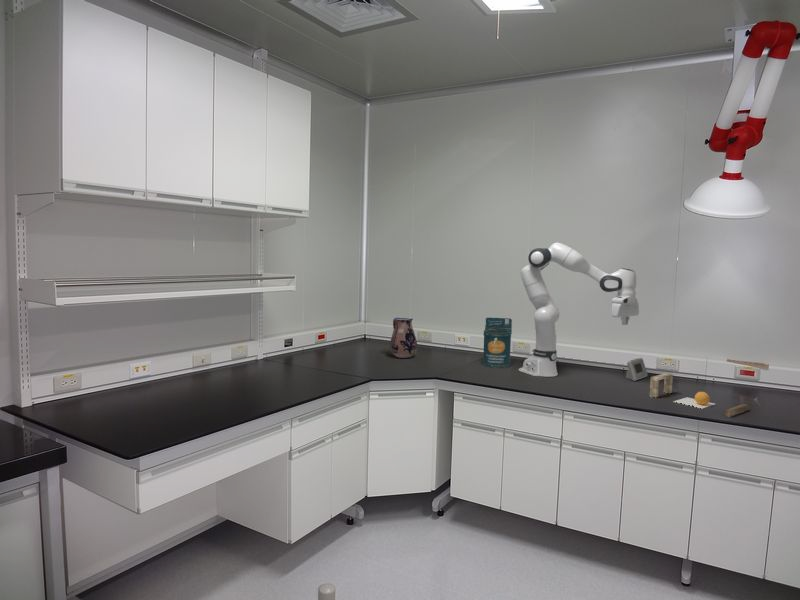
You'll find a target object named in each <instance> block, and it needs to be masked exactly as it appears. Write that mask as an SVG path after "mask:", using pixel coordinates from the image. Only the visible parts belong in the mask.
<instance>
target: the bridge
mask: <svg viewBox="0 0 800 600" xmlns="http://www.w3.org/2000/svg"><path fill="white" fill-rule="evenodd" d="M673 379H674V374H672V373H667V372H666V373H662V374H658V375H653V376H650V382H649V383H650V384H649V397H650V398H653V397H655V398H654V399H657V397H658V398H659V383H660V382H659V381H661V380H664V384H663V393H664V392H665V393H664V394H667V393H669V394H668V395H671V394H670V393H672V394H673V381H674V380H673Z"/></svg>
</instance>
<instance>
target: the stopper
mask: <svg viewBox="0 0 800 600" xmlns="http://www.w3.org/2000/svg"><path fill="white" fill-rule="evenodd" d="M747 411H749V404H746V403H741V404H739V405H737V406H734V407H730V408H728V409H725V410H724V414H723V415H724V417H727V418H731V417H734V416H737V415H739V414H742V413H745V412H747Z"/></svg>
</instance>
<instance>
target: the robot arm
mask: <svg viewBox="0 0 800 600" xmlns="http://www.w3.org/2000/svg"><path fill="white" fill-rule="evenodd" d="M527 259H528V263H529V264H528V265H525V266H524V267H522V269H521V270H520V277H521V280H522V283H523V287H524V289H525V291H526V293H527V297H528V299H529V301H530V302H531V303H532V305H533V307H534V308H535V310H536V311H535V313H534V315H533V320H534V327H535V328H534V329H535V348H534V349H532V350H531V352H532V355H531V356H529V357H528V358H526V359H524V361H523V364H522V367H520V368H518V371H519V372H521V373H524V374H527V375H529V376H532V377H547V378H548V377H557V376H558V370H557V369H558V368H557V353H558V352H557V335H556V334H557V333H556V322H558V320H559V318H560V311H559V308H557V306H556V303H555V302H554V300H553V298H552V296H551V295H550V293H549V291H548V288H547V286H546V284H545V280H544V279H543V276H542V273H541V271H542V270H544V268H546V267H547V266H548V265H550V263H556V264H557V265H559V266H561V267H563V268H565V270H566V269H567V270H569V271H572V272H575V273H580V274H583V275H585V276H587V277H589V278H591V279H593V280H595V281H596V282H597V283H599V287H600V289H601V290H602V291H603V292H605V293H613V292H617V295H615V296H614V297H613V298H612V299H611V303H612V305H611V316H612V318H620V320H621V325H622V326H626V325H628V324H629V320H630V319H631V317H633V316H639V313H640V306H639V301H638V299H637V298H636V294H637V293H636V287H637V273H636V272H635V271H634V270H633V269H631V268H624V267H623V268H620V269H619V270H616V271H614V272H606V271H603V270H602V269H600V268H599V267H596V266H595V265H593V264H592V263H590V262H589V261H588V259H586V258H585V257H584V256H583V255H582V254H581V253H580V252H579V251H577V250H575V249H574V248H573V247H570V246H569V245H566V244H564V243H561V242H554V243H552V244H551V245H550V246H549V247H548V248H540V247H538V248H537V247H536V248H534V249H532V250H530V252H529V254H528V258H527Z"/></svg>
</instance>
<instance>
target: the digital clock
mask: <svg viewBox="0 0 800 600" xmlns="http://www.w3.org/2000/svg"><path fill="white" fill-rule="evenodd" d="M627 367H628V370H626V374H625V379H626V378H629V379H628V380H631V379H632V380H631V381H633V382H636V381H637V380H638V381H640V380H639V379H641V380H642V378H643V379H645V378H647V377H648V371H647V369H646V366H645V361H644V359H643V358H642V357H639V358H634V359H632V360H629V361H627ZM638 381H637V382H638Z"/></svg>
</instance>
